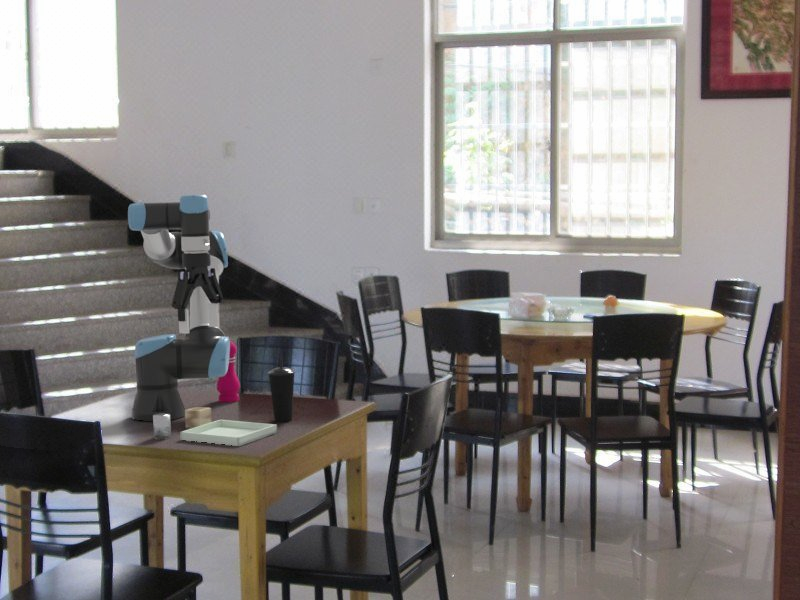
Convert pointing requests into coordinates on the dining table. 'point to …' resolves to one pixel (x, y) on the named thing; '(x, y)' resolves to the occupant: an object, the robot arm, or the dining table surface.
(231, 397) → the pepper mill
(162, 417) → the cylinder
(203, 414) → the beech block
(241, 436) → the tray
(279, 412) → the drinking cup
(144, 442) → the dining table surface
